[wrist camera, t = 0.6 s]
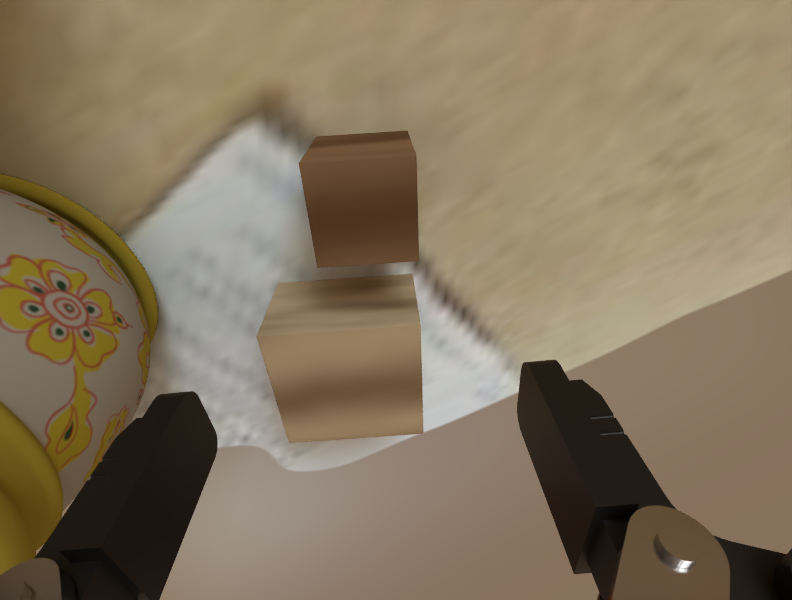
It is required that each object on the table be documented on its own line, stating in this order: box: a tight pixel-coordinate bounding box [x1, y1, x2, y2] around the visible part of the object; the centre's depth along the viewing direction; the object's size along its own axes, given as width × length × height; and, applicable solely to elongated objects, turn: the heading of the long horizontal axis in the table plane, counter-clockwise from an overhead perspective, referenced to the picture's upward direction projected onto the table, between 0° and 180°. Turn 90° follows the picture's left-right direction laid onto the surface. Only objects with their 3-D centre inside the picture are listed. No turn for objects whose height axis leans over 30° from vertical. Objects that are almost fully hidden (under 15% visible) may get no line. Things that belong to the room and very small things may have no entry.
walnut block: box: [299, 131, 419, 268], centre depth 21 cm, size 5×5×6 cm
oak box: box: [257, 274, 423, 443], centre depth 27 cm, size 9×9×6 cm
